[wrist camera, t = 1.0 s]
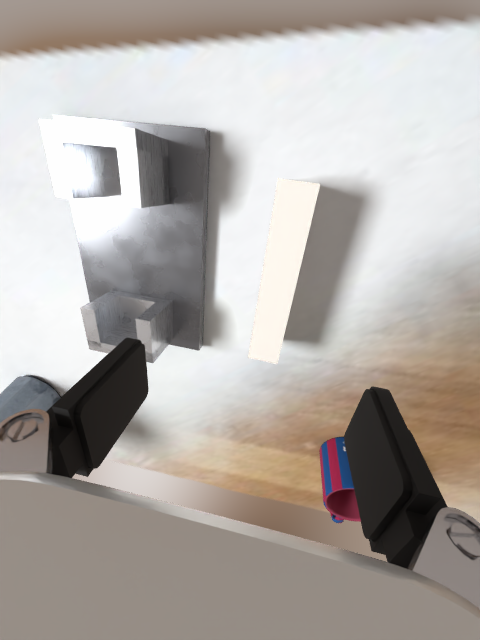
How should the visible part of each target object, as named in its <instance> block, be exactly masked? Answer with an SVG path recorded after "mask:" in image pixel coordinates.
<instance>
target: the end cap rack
mask: <svg viewBox="0 0 480 640" xmlns="http://www.w3.org/2000/svg"><path fill="white" fill-rule="evenodd" d="M53 117H54V121H53V120H42V119H39V121H40V126H41V131H42V135H43V140H44V144H45V149H46V153H47V158H48V162H49V167H50V172H51V176H52V181H53V185H54V190H55V194H56V197H63V198H69V199H70V204H71V209H72V214H73V219H74V224H75V229H76V234H77V239H78V244H79V249H80V254H81V259H82V264H83V269H84V275H85V280H86V285H87V290H88V295H89V300H90V303H88V304H86V305H85V306H83V307H81V313H82V317H83V322H84V326H85V331H86V336H87V340H88V345H89V349H91V350H95V351H100V352H105V353H110V352H111V351H112V350H113V349H114V348H115V347H116V346H117V345H118V344H119V343H121V342H122V341H123V340H124V339H125V338H127V337H128V338H133V339H138V340H141V342H142V344H144V345H145V353H146V362H151V363H154V361H155V360H156V359H157V358H158V356H159V355H160V354H161V353H162V352H163V350H164V349H165V348H166V347H167V346H168V344H170V345H175V346H180V347H185V348H189V349H194V350H200V348H201V346H202V339H203V311H204V283H205V255H206V228H207V200H208V172H209V144H210V131H209V130H207V129H204V128H193V127H182V126H171V125H160V124H149V123H137V122H126V121H115V120H104V119H93V118H82V117H71V116H59V115H53Z"/></svg>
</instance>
